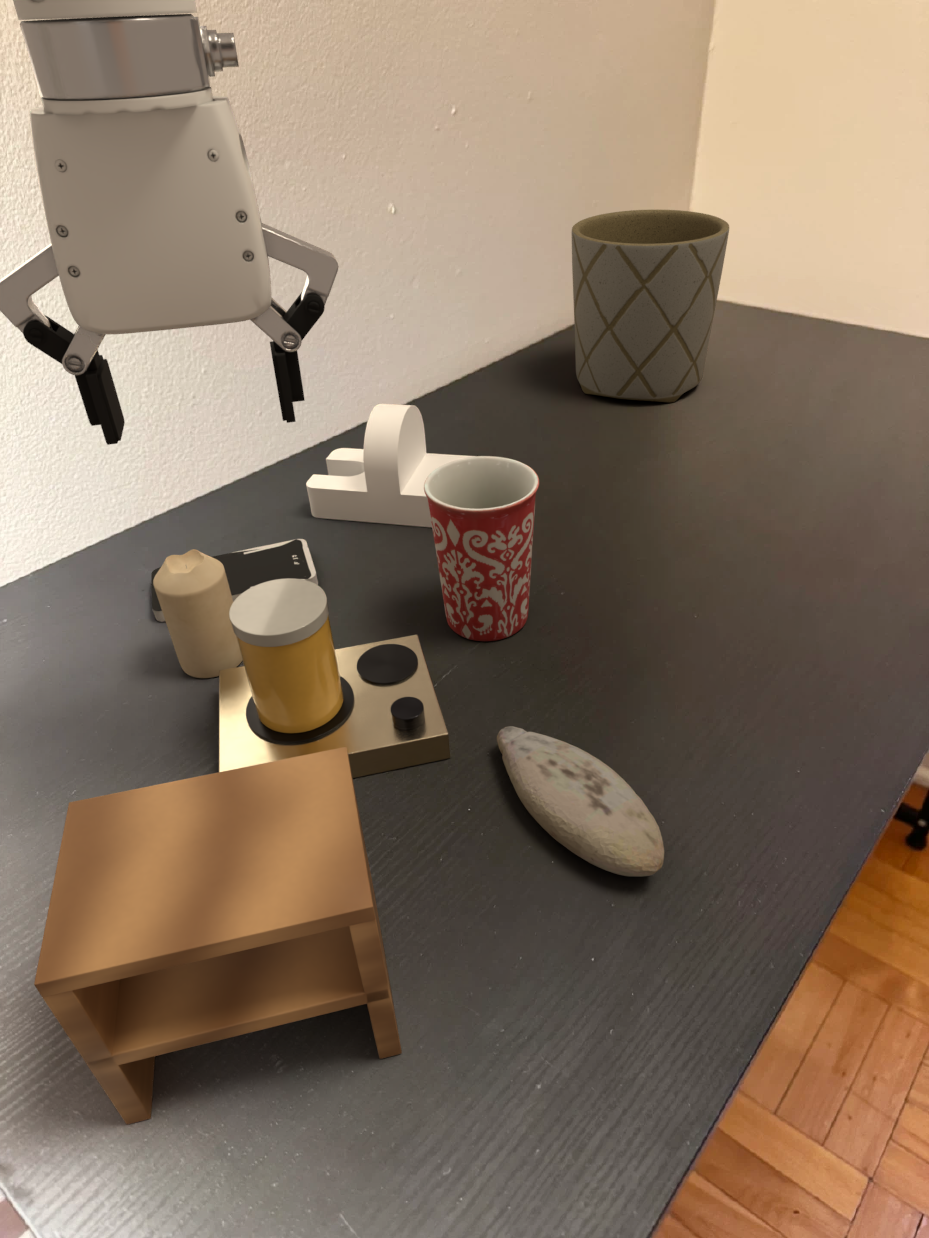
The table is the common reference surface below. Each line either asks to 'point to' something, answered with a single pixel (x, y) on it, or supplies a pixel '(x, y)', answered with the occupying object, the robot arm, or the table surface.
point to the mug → (483, 543)
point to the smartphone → (258, 568)
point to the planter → (645, 300)
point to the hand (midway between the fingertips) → (203, 423)
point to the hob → (347, 714)
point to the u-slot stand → (380, 473)
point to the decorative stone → (582, 803)
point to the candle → (198, 613)
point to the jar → (288, 654)
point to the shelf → (211, 917)
